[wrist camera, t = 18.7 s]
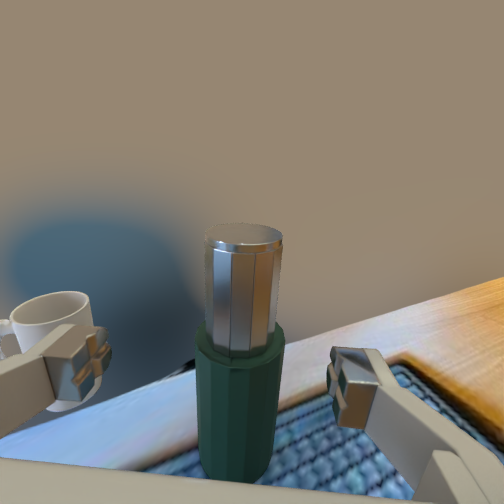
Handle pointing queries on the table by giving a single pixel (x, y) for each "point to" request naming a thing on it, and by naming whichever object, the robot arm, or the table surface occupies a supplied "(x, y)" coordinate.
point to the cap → (241, 287)
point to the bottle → (237, 409)
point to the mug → (49, 327)
